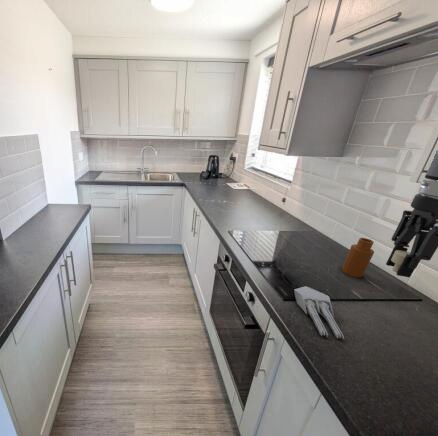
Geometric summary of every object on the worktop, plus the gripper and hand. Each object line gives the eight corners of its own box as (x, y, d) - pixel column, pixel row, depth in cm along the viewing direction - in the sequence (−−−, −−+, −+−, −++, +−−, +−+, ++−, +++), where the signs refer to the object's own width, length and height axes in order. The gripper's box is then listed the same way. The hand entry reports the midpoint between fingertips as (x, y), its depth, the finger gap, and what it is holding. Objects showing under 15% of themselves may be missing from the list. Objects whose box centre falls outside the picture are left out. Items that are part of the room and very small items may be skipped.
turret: (311, 339, 71) (317, 330, 68) (288, 289, 87) (292, 280, 85) (347, 345, 69) (354, 336, 67) (317, 293, 86) (322, 284, 83)
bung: (402, 268, 70) (412, 252, 68) (413, 278, 66) (423, 260, 64) (383, 265, 72) (391, 248, 70) (392, 274, 68) (401, 256, 65)
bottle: (358, 269, 103) (372, 238, 97) (365, 279, 97) (382, 246, 91) (338, 266, 106) (352, 235, 99) (345, 274, 99) (360, 242, 93)
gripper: (398, 186, 69) (367, 253, 78) (445, 204, 53) (399, 285, 62) (431, 189, 67) (395, 258, 76) (490, 209, 51) (435, 292, 60)
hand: (397, 270), depth 69 cm, fingers closed on bung, 5 cm apart
